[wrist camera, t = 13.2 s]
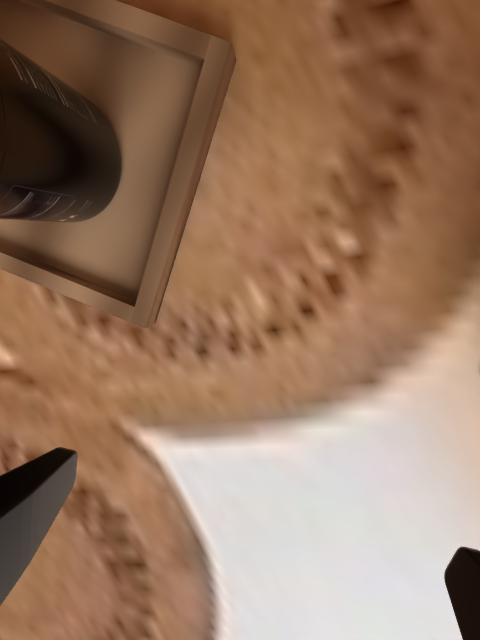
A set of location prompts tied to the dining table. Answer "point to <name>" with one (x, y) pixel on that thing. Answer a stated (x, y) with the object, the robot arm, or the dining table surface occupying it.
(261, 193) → the dining table surface
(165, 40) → the tray
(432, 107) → the dining table surface
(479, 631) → the robot arm
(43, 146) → the supplement bottle
